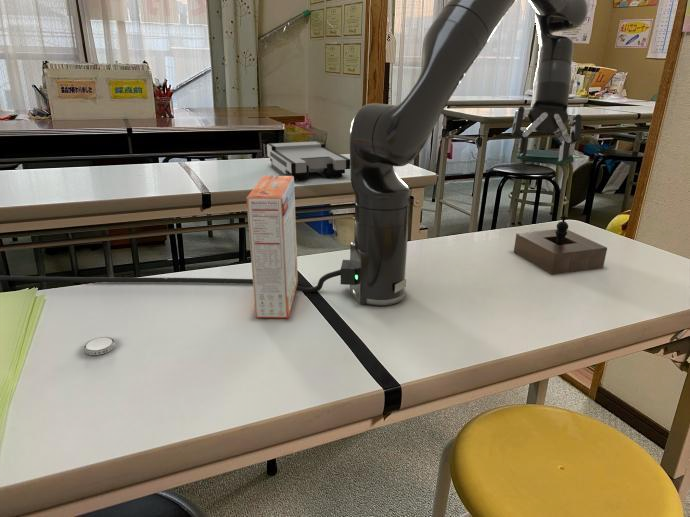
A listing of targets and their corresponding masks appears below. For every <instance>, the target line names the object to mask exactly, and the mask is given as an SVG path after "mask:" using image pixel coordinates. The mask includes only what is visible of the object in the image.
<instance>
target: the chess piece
mask: <svg viewBox="0 0 690 517" xmlns="http://www.w3.org/2000/svg"><path fill="white" fill-rule="evenodd" d="M559 218H560V219H561V220H562V221H559V222H558V223H557V224H556V229H557V230H556V231H555V233H556V236H557V240H556V243H555V244H557V245H563V240H564V238H565V236H566V235H567V232H566V230H569V224H568V222H566V220H569V217H567V216H566V215H565V214H564V215H563V216H560V217H559Z"/></svg>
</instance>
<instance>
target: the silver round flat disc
mask: <svg viewBox="0 0 690 517" xmlns="http://www.w3.org/2000/svg"><path fill="white" fill-rule="evenodd" d="M115 346H116V345H115V340H114V338H112V337H109V336H102V337H101V336H100V337H96V338H93V339H91V340H89V341H87V342H86V343H85V344H84V346H83V348H84V352H85V354H87V355H90V356H99V355H102V354H103V355H104V354H106V353H109V352H111V351H112V350H113V349H114V348H115Z"/></svg>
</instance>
